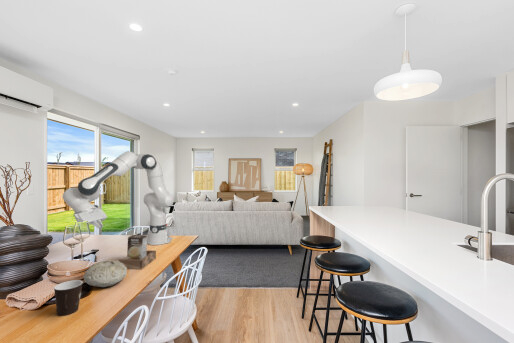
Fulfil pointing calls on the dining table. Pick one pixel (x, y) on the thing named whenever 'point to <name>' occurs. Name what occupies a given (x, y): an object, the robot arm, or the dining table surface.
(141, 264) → the brown wooden tray
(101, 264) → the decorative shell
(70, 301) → the coffee mug
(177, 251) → the dining table surface
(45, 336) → the dining table surface
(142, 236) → the coffee box
